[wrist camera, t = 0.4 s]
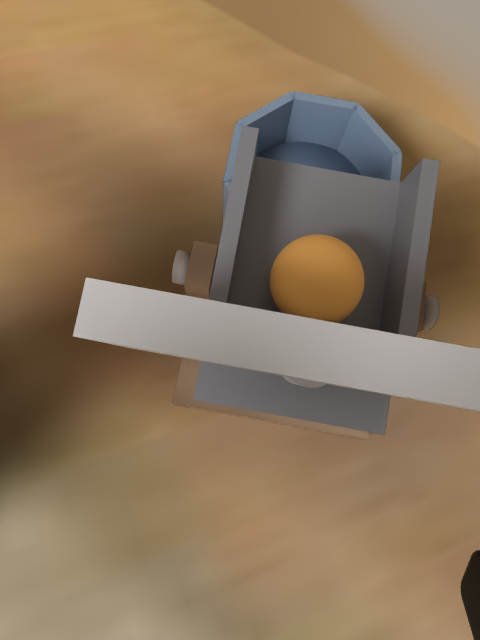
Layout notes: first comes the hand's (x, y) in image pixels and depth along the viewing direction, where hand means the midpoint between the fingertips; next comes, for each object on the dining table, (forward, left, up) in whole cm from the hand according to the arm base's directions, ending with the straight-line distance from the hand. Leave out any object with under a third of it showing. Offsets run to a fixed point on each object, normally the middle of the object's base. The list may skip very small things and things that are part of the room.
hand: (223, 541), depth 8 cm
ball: (+5, -6, -5) cm, 9 cm away
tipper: (+6, -6, -8) cm, 11 cm away
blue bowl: (+12, -11, -15) cm, 22 cm away
